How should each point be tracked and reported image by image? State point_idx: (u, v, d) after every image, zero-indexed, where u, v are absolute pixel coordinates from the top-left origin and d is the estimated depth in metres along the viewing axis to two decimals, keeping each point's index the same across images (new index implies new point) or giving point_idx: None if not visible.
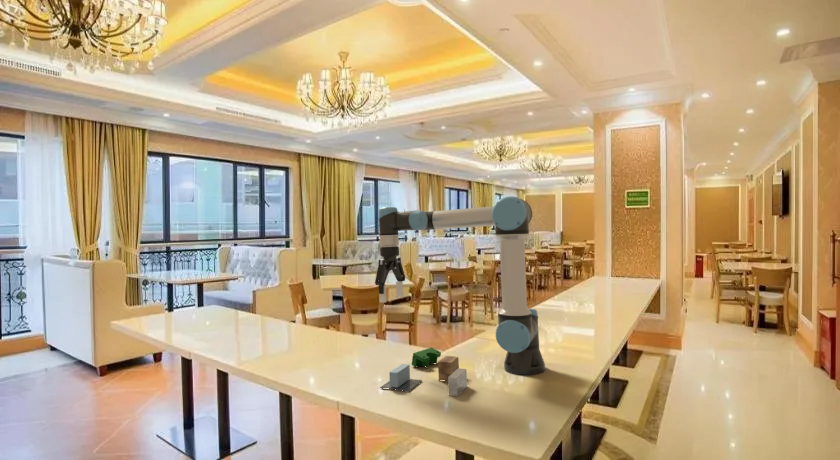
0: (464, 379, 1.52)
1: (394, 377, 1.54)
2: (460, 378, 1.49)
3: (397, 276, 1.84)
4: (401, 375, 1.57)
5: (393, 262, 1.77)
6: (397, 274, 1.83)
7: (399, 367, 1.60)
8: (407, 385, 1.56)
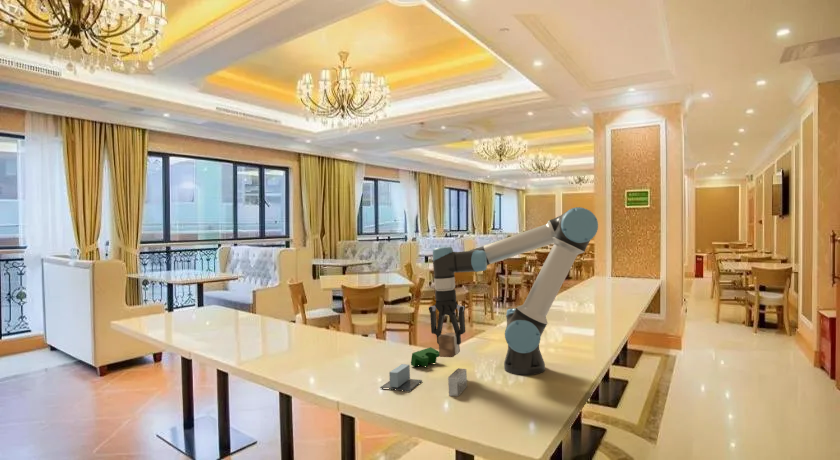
0: (464, 379, 1.52)
1: (394, 377, 1.54)
2: (460, 378, 1.49)
3: None
4: (401, 375, 1.57)
5: (442, 307, 1.63)
6: None
7: (399, 367, 1.60)
8: (407, 385, 1.56)
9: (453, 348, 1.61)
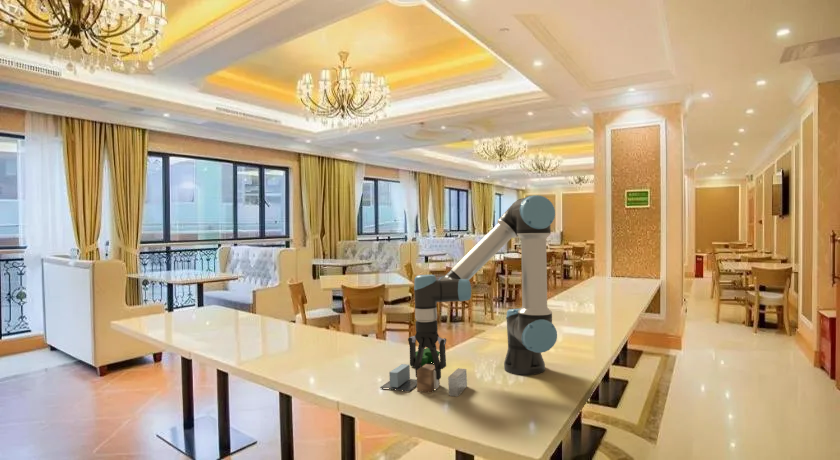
0: (464, 379, 1.52)
1: (394, 377, 1.54)
2: (460, 378, 1.49)
3: None
4: (401, 375, 1.57)
5: (422, 339, 1.53)
6: None
7: (399, 367, 1.60)
8: (407, 385, 1.56)
9: (432, 383, 1.51)
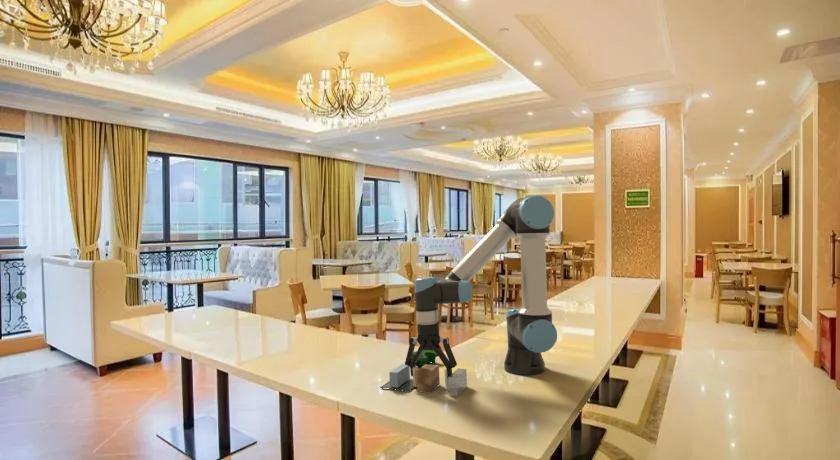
0: (464, 379, 1.52)
1: (394, 377, 1.54)
2: (460, 378, 1.49)
3: None
4: (401, 375, 1.57)
5: (424, 342, 1.53)
6: None
7: (399, 367, 1.60)
8: (407, 385, 1.56)
9: (432, 383, 1.51)
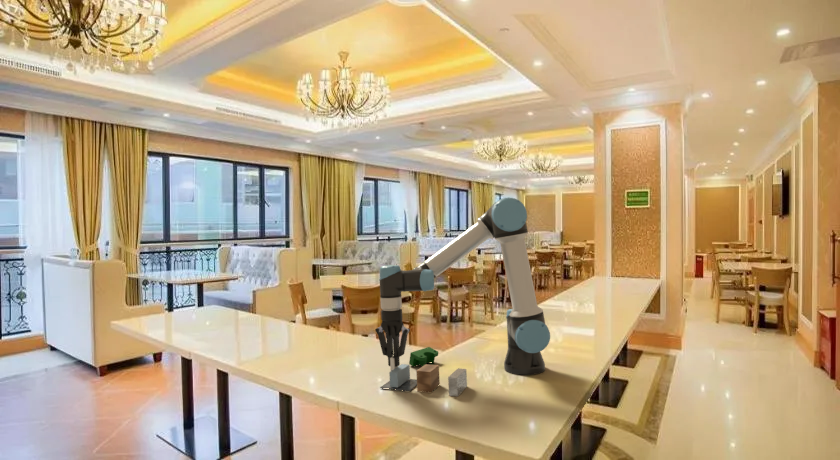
0: (464, 379, 1.52)
1: (394, 377, 1.54)
2: (460, 378, 1.49)
3: None
4: (401, 375, 1.57)
5: (387, 327, 1.59)
6: None
7: (399, 367, 1.60)
8: (407, 385, 1.56)
9: (432, 383, 1.51)
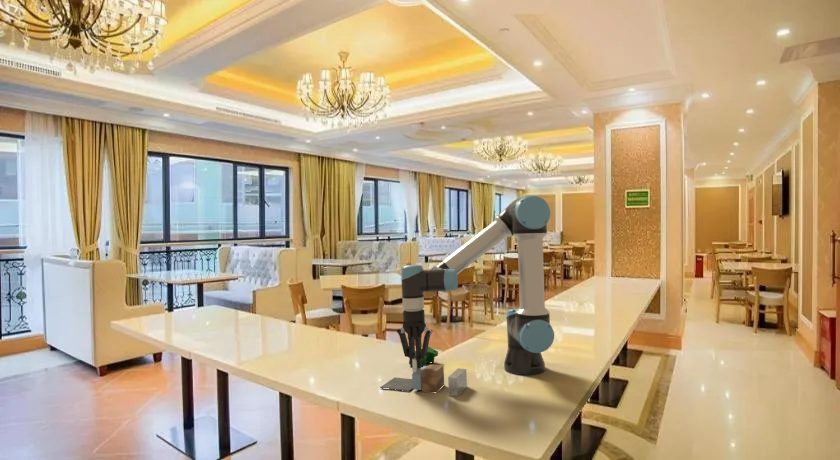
0: (464, 379, 1.52)
1: (417, 380, 1.51)
2: (460, 378, 1.49)
3: None
4: None
5: (409, 327, 1.55)
6: None
7: (421, 369, 1.57)
8: (407, 385, 1.56)
9: (437, 383, 1.51)
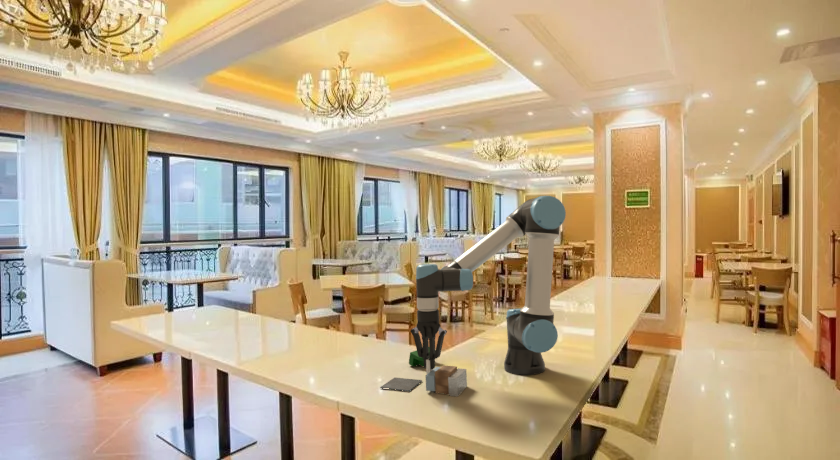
0: (464, 379, 1.52)
1: (431, 381, 1.49)
2: (460, 378, 1.49)
3: None
4: None
5: (423, 328, 1.53)
6: None
7: (434, 370, 1.55)
8: (407, 385, 1.56)
9: None
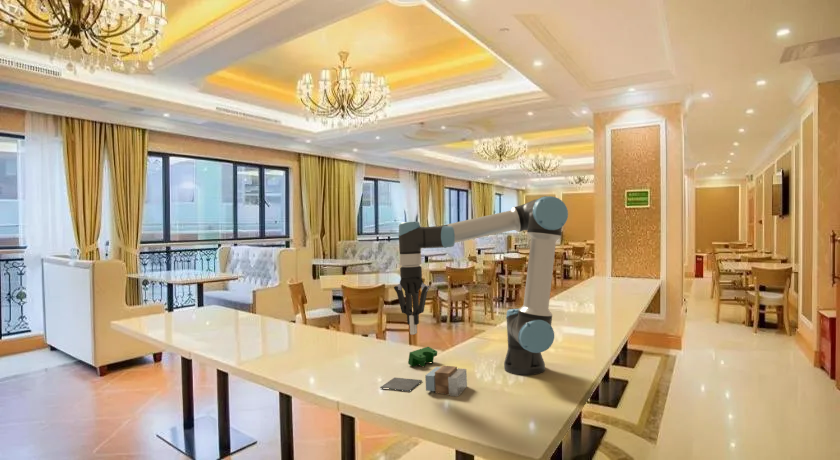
0: (464, 379, 1.52)
1: (430, 381, 1.49)
2: (460, 378, 1.49)
3: None
4: None
5: (406, 284, 1.56)
6: None
7: (434, 370, 1.55)
8: (407, 385, 1.56)
9: None
